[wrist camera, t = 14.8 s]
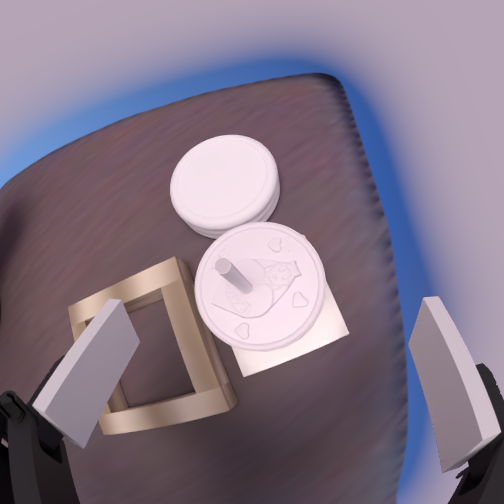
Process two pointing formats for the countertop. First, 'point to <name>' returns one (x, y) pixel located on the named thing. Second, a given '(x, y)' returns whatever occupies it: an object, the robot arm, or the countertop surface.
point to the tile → (319, 335)
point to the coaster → (225, 185)
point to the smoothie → (260, 286)
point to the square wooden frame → (189, 340)
